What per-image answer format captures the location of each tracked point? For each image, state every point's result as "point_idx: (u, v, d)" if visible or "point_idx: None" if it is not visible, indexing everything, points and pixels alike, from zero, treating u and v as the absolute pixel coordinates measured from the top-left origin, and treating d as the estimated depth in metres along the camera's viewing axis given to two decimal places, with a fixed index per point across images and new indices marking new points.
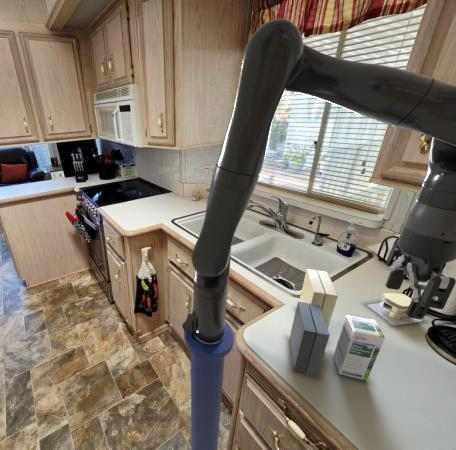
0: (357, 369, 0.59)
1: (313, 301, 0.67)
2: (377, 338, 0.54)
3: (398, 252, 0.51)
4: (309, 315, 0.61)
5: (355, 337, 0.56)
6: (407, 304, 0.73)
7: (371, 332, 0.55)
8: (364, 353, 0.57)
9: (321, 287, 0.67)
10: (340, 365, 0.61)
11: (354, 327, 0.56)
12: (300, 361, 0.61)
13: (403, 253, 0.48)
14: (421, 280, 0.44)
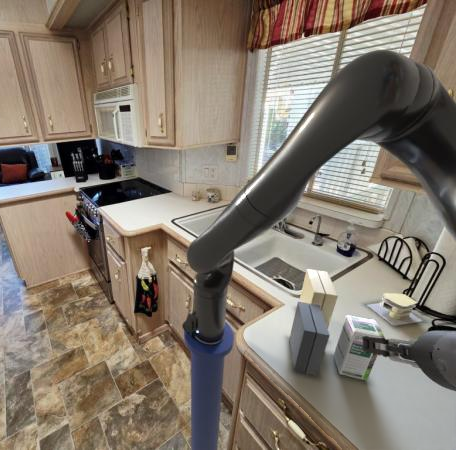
0: (357, 369, 0.59)
1: (313, 301, 0.67)
2: None
3: None
4: (309, 315, 0.61)
5: (355, 337, 0.56)
6: (407, 304, 0.73)
7: (371, 332, 0.55)
8: (364, 353, 0.57)
9: (321, 287, 0.67)
10: (340, 365, 0.61)
11: (354, 327, 0.56)
12: (300, 361, 0.61)
13: None
14: None
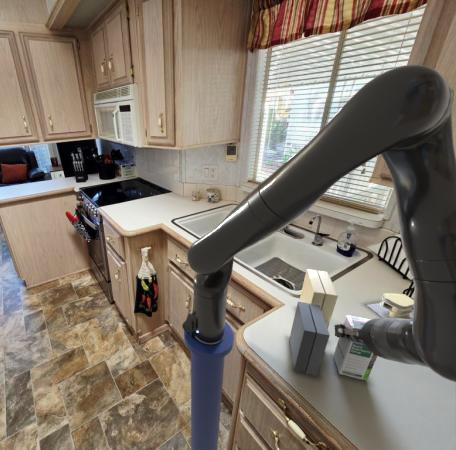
0: (357, 369, 0.59)
1: (313, 301, 0.67)
2: None
3: None
4: (309, 315, 0.61)
5: None
6: (407, 304, 0.73)
7: None
8: (364, 353, 0.57)
9: (321, 287, 0.67)
10: (340, 365, 0.61)
11: None
12: (300, 361, 0.61)
13: None
14: None
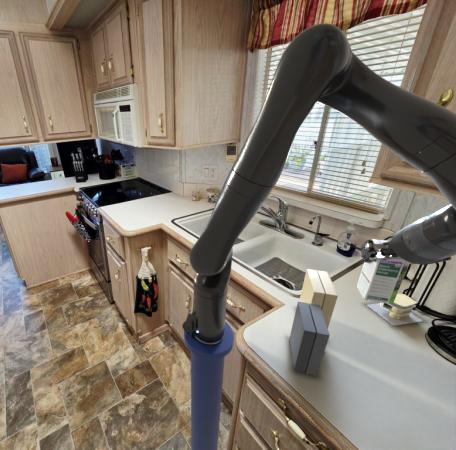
0: (383, 292, 0.59)
1: (313, 301, 0.67)
2: None
3: None
4: (309, 315, 0.61)
5: None
6: (407, 304, 0.73)
7: None
8: (391, 272, 0.56)
9: (321, 287, 0.67)
10: (366, 291, 0.61)
11: None
12: (300, 361, 0.61)
13: None
14: None
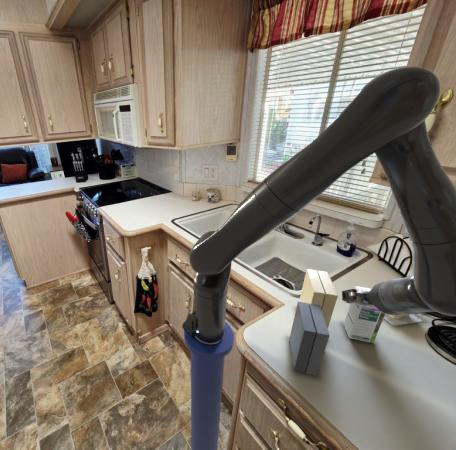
0: (365, 333, 0.68)
1: (313, 301, 0.67)
2: None
3: None
4: (309, 315, 0.61)
5: None
6: None
7: None
8: (371, 317, 0.66)
9: (321, 287, 0.67)
10: (350, 330, 0.70)
11: None
12: (300, 361, 0.61)
13: None
14: None
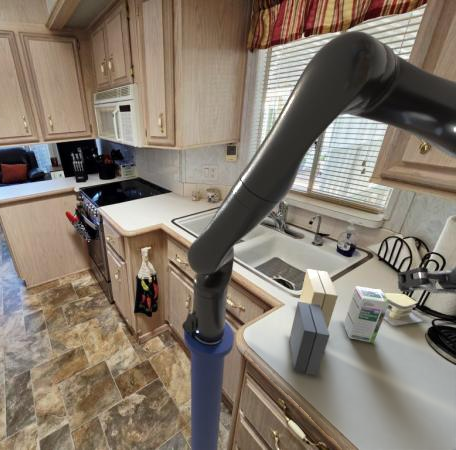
0: (365, 333, 0.68)
1: (313, 301, 0.67)
2: (383, 303, 0.63)
3: None
4: (309, 315, 0.61)
5: (364, 303, 0.65)
6: (407, 304, 0.73)
7: (377, 298, 0.64)
8: (371, 317, 0.66)
9: (321, 287, 0.67)
10: (350, 330, 0.70)
11: (363, 295, 0.66)
12: (300, 361, 0.61)
13: None
14: None
